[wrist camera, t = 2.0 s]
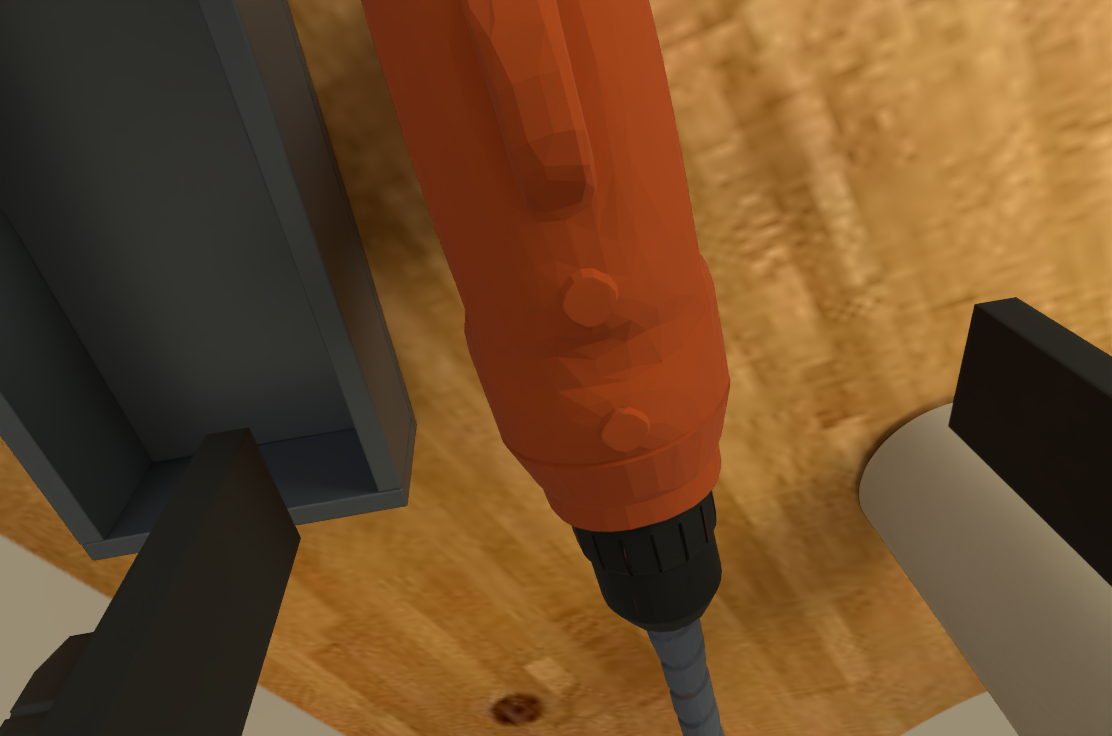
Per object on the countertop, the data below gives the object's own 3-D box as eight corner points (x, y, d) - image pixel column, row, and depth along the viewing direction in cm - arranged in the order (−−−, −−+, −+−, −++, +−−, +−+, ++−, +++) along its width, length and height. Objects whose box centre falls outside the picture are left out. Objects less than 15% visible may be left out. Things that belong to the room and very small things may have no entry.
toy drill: (564, 482, 27) (628, 916, 13) (390, -49, 19) (106, -318, 5) (682, 450, 27) (871, 858, 13) (556, -102, 19) (703, -524, 5)
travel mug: (840, 537, 33) (1163, 1052, 17) (875, 402, 28) (1345, 927, 13) (995, 520, 33) (1440, 1004, 18) (1053, 386, 29) (1700, 869, 14)
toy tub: (-429, -483, 13) (-811, -667, 9) (116, -559, 13) (-29, -770, 9) (148, 471, 26) (92, 562, 22) (417, 425, 26) (408, 507, 23)
